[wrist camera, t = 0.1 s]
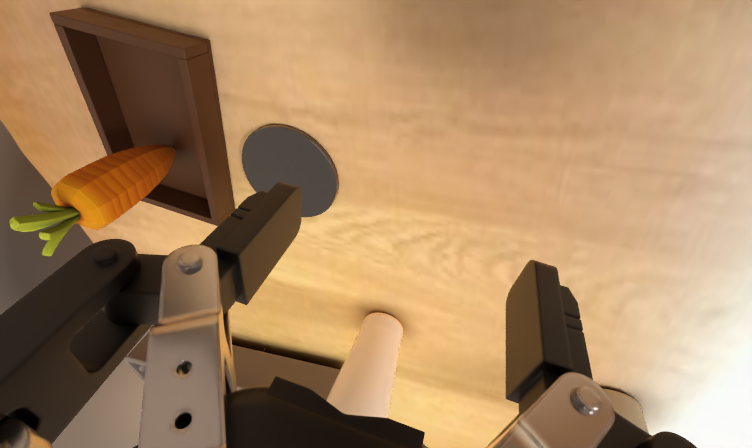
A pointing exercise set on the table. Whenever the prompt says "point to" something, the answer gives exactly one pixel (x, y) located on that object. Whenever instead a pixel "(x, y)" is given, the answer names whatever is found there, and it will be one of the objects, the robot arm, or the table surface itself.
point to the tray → (154, 103)
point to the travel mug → (627, 408)
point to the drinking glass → (369, 369)
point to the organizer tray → (258, 369)
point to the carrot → (98, 192)
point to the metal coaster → (291, 166)
